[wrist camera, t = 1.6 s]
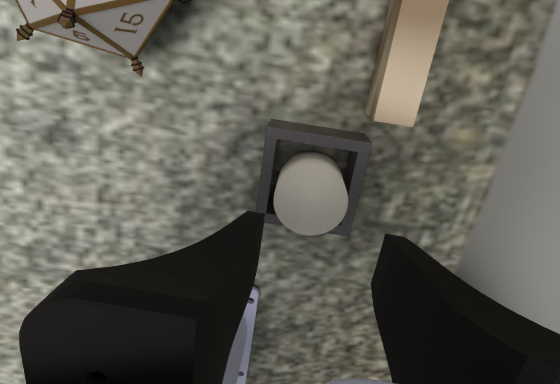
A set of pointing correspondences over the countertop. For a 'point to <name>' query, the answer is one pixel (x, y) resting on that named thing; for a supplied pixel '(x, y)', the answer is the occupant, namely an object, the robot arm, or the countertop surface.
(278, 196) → the button
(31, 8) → the game die
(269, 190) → the button box
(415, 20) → the rail
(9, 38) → the countertop surface
